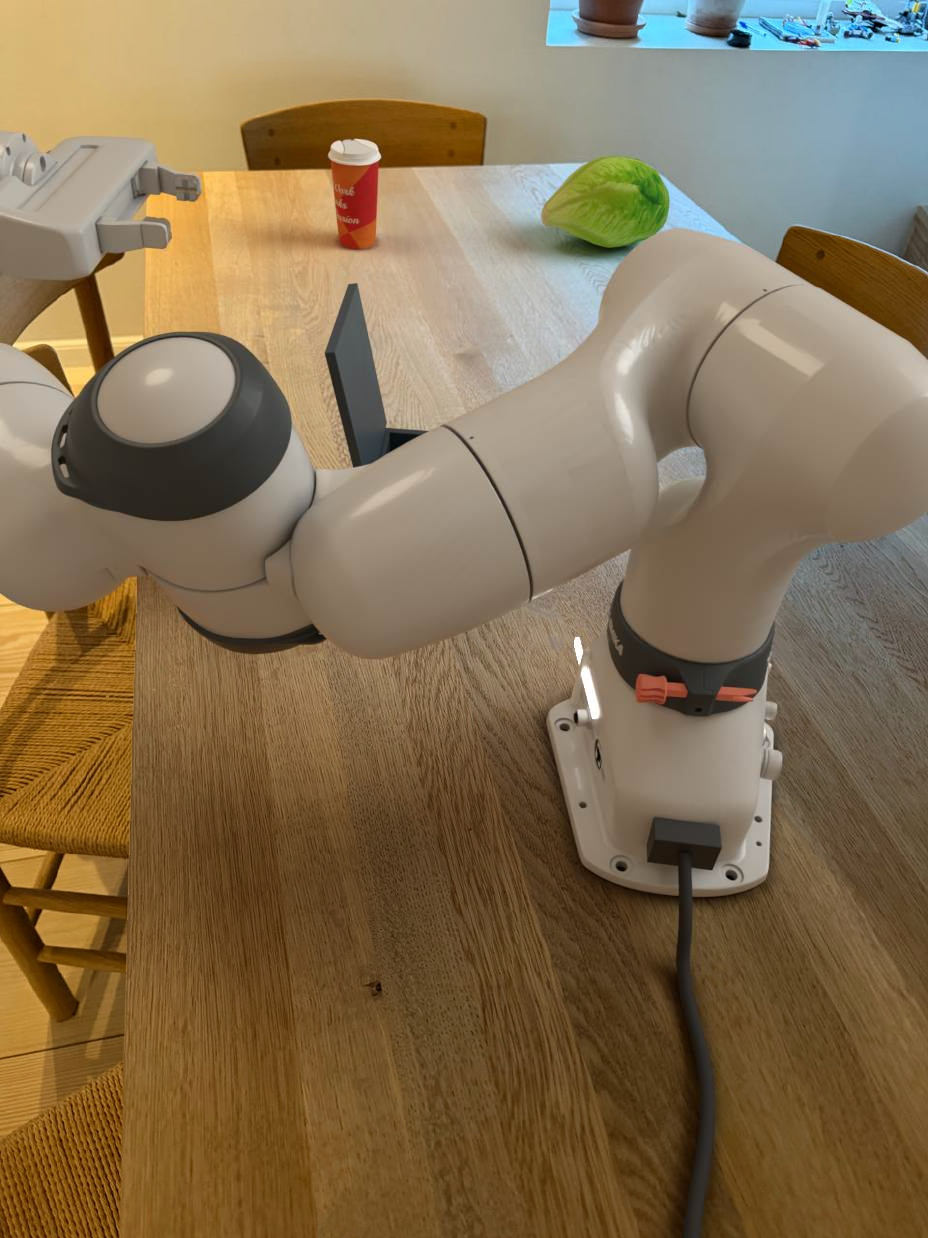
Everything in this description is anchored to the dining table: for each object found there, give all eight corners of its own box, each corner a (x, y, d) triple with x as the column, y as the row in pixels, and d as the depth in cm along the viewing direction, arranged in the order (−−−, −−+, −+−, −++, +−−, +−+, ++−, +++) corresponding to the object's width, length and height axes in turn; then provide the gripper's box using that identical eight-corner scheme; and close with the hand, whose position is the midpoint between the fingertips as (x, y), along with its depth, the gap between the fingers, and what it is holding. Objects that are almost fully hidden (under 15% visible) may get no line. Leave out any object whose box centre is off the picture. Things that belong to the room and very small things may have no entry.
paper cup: (325, 235, 150) (320, 139, 140) (371, 229, 152) (369, 135, 142) (342, 255, 145) (338, 157, 135) (389, 248, 147) (389, 152, 137)
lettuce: (528, 226, 156) (536, 137, 147) (646, 223, 159) (661, 136, 150) (550, 266, 145) (560, 173, 136) (676, 263, 148) (694, 171, 139)
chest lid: (357, 282, 85) (348, 283, 85) (334, 351, 76) (324, 352, 76) (386, 422, 95) (378, 423, 95) (369, 498, 86) (360, 499, 86)
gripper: (61, 186, 84) (219, 201, 84) (-36, 289, 69) (155, 306, 70) (45, 108, 80) (211, 124, 80) (-63, 200, 65) (141, 218, 65)
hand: (184, 209), depth 75 cm, fingers open, 8 cm apart
